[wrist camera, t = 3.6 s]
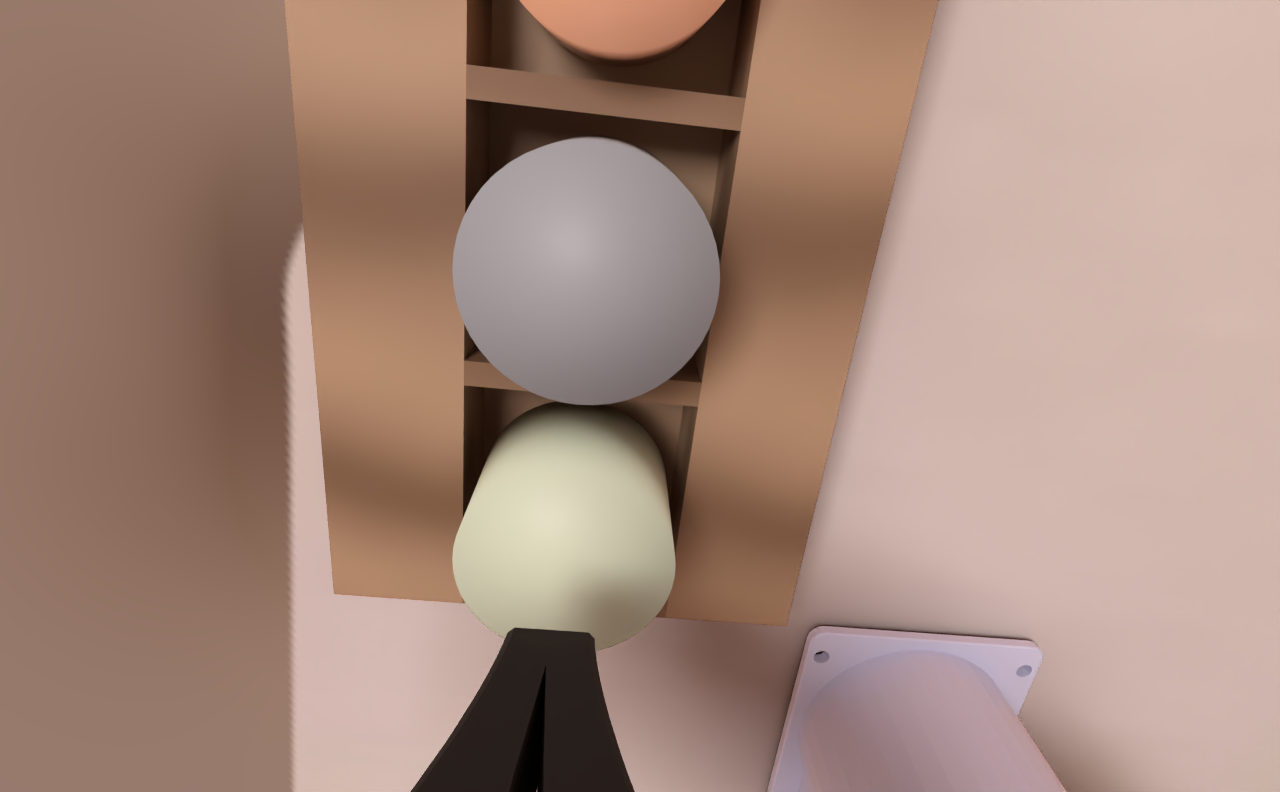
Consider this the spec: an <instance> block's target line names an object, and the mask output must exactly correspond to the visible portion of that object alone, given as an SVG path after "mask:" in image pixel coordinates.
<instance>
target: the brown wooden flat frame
mask: <svg viewBox="0 0 1280 792" xmlns="http://www.w3.org/2000/svg"><path fill="white" fill-rule="evenodd" d="M937 4H938V0H725V1H724V3H723V4H722V5H721V6H720V7H719V9H718V10H717V11H716V12H715V13H714V14H713V16H712V17H711V18H710V19H709V20H708V21H707V23H706V24H705V25H704V26H703V27H702V28H701V30H700V31H699V32H698V33H697V34H696V35H695V36H694V37H693V38H692V39H691V40H690V41H689V42H687V43H686V44H685V45H683V46H682V47H681V48H680V49H678V50H677V51H675V52H673V53H672V54H670V55H668V56H666V57H664V58H662V59H659V60H657V61H654V62H651V63H647V64H643V65H639V66H629V67H617V66H608V65H603V64H598V63H595V62H592V61H589V60H586V59H584V58H582V57H580V56H578V55H576V54H574V53H572V52H571V51H569V50H568V49H566V48H565V47H564V46H562V45H561V44H559V43H558V42H557V41H556V40H555V39H554V38H553V37H552V36H551V35H549V34H548V32H547V31H546V30H545V29H544V28H543V27H542V26H541V25H540V23H539V22H538V21H537V20H536V19H535V18H534V17H533V16H532V14H531V13H530V12H529V11H528V10H527V9H526V8H525V6H524V5H523V4H522V3H521V2H520V1H519V0H285V12H286V23H287V36H288V48H289V59H290V72H291V82H292V95H293V107H294V120H295V131H296V144H297V155H298V168H299V180H300V191H301V204H302V216H303V228H304V240H305V252H306V264H307V276H308V288H309V300H310V312H311V324H312V336H313V348H314V360H315V372H316V384H317V396H318V408H319V420H320V431H321V443H322V455H323V467H324V479H325V491H326V503H327V515H328V527H329V539H330V551H331V563H332V575H333V587H334V594H341V595H355V596H369V597H383V598H397V599H411V600H425V601H439V602H453V603H465V601H464V600H463V598H462V596H461V595H460V592H459V590H458V587H457V585H456V581H455V577H454V573H453V563H452V556H453V546H454V542H455V538H456V535H457V532H458V530H459V527H460V525H461V522H462V520H463V517H464V515H465V512H466V510H467V507H468V505H469V503H470V500H471V498H472V495H473V493H474V490H475V488H476V485H477V483H478V480H479V478H480V475H481V473H482V470H483V468H484V465H485V463H486V460H487V458H488V455H489V453H490V451H491V448H492V446H493V444H494V442H495V441H496V439H497V437H498V436H499V435H500V433H501V432H502V431H503V430H504V429H505V427H506V426H507V425H509V424H510V423H511V422H512V421H513V420H514V419H516V418H517V417H519V416H520V415H521V414H523V413H525V412H527V411H529V410H531V409H533V408H535V407H538V406H540V405H543V404H546V403H551V402H555V400H551V399H548V398H544V397H542V396H540V395H537V394H535V393H532V392H530V391H528V390H526V389H525V388H523V387H521V386H519V385H517V384H516V383H514V382H513V381H511V380H510V379H509V378H507V377H506V376H505V375H503V374H502V373H501V372H500V371H499V370H498V369H497V368H495V367H494V366H493V365H492V364H491V363H490V362H489V361H488V359H487V358H486V357H485V356H484V355H483V354H482V352H481V351H480V350H479V349H478V347H477V345H476V344H475V342H474V341H473V339H472V338H471V336H470V335H469V332H468V330H467V328H466V326H465V324H464V322H463V320H462V317H461V314H460V311H459V308H458V305H457V302H456V297H455V292H454V286H453V271H452V267H453V253H454V247H455V242H456V238H457V233H458V231H459V228H460V225H461V222H462V219H463V217H464V215H465V213H466V211H467V209H468V207H469V205H470V204H471V202H472V200H473V199H474V197H475V196H476V195H477V193H478V192H479V191H480V189H481V188H482V187H483V185H484V184H485V183H486V182H487V181H488V180H489V179H490V178H491V177H492V176H493V175H494V174H495V173H496V172H498V171H499V170H500V169H502V168H503V167H504V166H505V165H507V164H508V163H509V162H511V161H513V160H515V159H516V158H518V157H520V156H521V155H523V154H525V153H527V152H530V151H532V150H535V149H538V148H540V147H543V146H546V145H548V144H551V143H554V142H557V141H560V140H564V139H568V138H572V137H578V136H588V135H593V136H607V137H612V138H618V139H621V140H624V141H627V142H630V143H633V144H635V145H637V146H639V147H641V148H643V149H645V150H647V151H648V152H650V153H651V154H652V155H654V156H655V157H657V158H658V159H659V160H660V161H661V162H663V163H664V164H665V165H666V166H667V167H668V168H669V169H670V170H671V171H672V172H673V173H674V174H675V176H676V177H677V178H678V179H679V180H680V181H681V182H682V183H683V185H684V186H685V187H686V188H687V189H688V190H689V192H690V193H691V194H692V195H693V196H694V198H695V199H696V201H697V202H698V204H699V206H700V207H701V209H702V210H703V212H704V214H705V216H706V218H707V220H708V223H709V225H710V227H711V229H712V233H713V236H714V239H715V242H716V246H717V251H718V257H719V265H720V286H719V297H718V301H717V306H716V310H715V314H714V317H713V319H712V322H711V325H710V328H709V330H708V332H707V334H706V336H705V337H704V339H703V341H702V343H701V345H700V346H699V347H698V349H697V350H696V352H695V353H694V355H693V356H692V357H691V358H690V360H689V361H688V362H687V363H686V364H685V365H684V366H683V367H682V368H681V369H680V370H679V371H678V372H677V373H675V374H674V375H673V376H672V377H671V378H670V379H668V380H667V381H665V382H664V383H662V384H661V385H659V386H658V387H656V388H654V389H652V390H650V391H648V392H646V393H644V394H642V395H640V396H637V397H634V398H631V399H628V400H625V401H621V402H616V403H611V404H604V405H607V406H610V407H612V408H614V409H617V410H619V411H621V412H622V413H624V414H626V415H628V416H629V417H631V418H632V419H633V420H635V421H636V422H637V423H638V424H640V425H641V426H642V427H643V428H644V429H645V430H646V431H647V433H648V434H649V435H650V437H651V438H652V439H653V441H654V442H655V444H656V446H657V447H658V449H659V452H660V454H661V457H662V459H663V463H664V467H665V474H666V482H667V491H668V499H669V508H670V517H671V525H672V534H673V542H674V551H675V563H676V567H675V577H674V582H673V586H672V589H671V592H670V594H669V597H668V599H667V601H666V602H665V604H664V606H663V607H662V609H661V610H660V612H659V613H658V614H657V615H656V617H664V618H678V619H692V620H706V621H720V622H734V623H748V624H762V625H776V626H786V625H787V621H788V616H789V612H790V608H791V604H792V600H793V596H794V592H795V588H796V584H797V579H798V575H799V571H800V567H801V563H802V559H803V555H804V551H805V546H806V542H807V538H808V534H809V530H810V526H811V522H812V518H813V514H814V509H815V505H816V501H817V497H818V493H819V489H820V485H821V481H822V477H823V472H824V468H825V464H826V460H827V456H828V452H829V448H830V444H831V440H832V435H833V431H834V427H835V423H836V419H837V415H838V411H839V407H840V403H841V398H842V394H843V390H844V386H845V382H846V378H847V374H848V370H849V366H850V361H851V357H852V353H853V349H854V345H855V341H856V337H857V333H858V329H859V324H860V320H861V316H862V312H863V308H864V304H865V300H866V296H867V291H868V287H869V283H870V279H871V275H872V271H873V267H874V263H875V259H876V254H877V250H878V246H879V242H880V238H881V234H882V230H883V226H884V222H885V217H886V213H887V209H888V205H889V201H890V197H891V193H892V189H893V185H894V180H895V176H896V172H897V168H898V164H899V160H900V156H901V152H902V148H903V143H904V139H905V135H906V131H907V127H908V123H909V119H910V115H911V111H912V106H913V102H914V98H915V94H916V90H917V86H918V82H919V78H920V73H921V69H922V65H923V61H924V57H925V53H926V49H927V45H928V41H929V36H930V32H931V28H932V24H933V20H934V16H935V12H936V8H937Z"/></svg>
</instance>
